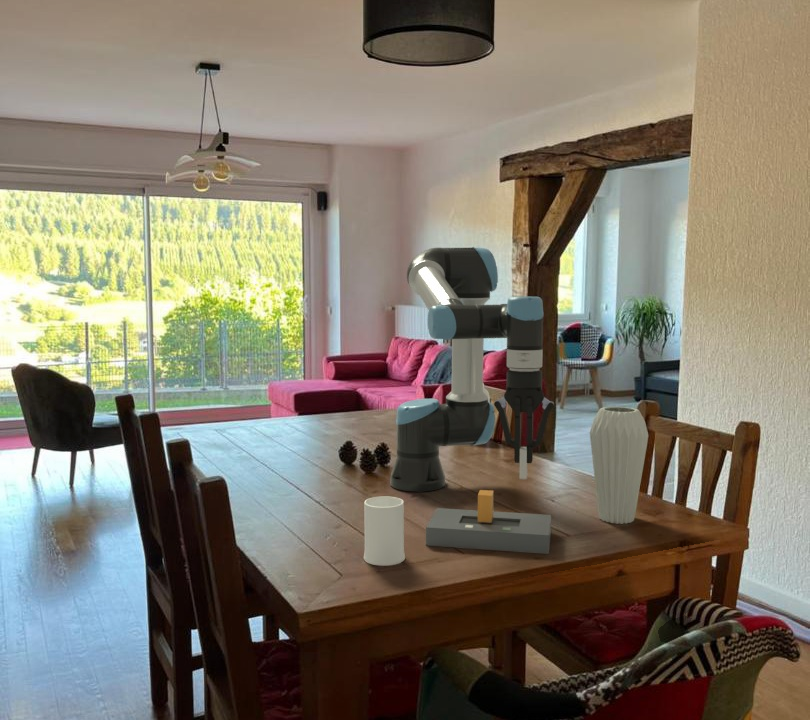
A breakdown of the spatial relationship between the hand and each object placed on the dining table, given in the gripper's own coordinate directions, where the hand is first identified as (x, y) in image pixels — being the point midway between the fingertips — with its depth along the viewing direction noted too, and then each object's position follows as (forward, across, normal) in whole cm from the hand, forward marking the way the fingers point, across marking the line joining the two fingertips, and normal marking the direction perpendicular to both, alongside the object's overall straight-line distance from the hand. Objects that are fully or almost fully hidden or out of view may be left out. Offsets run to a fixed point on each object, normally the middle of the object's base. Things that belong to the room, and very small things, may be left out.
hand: (523, 477), depth 171 cm
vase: (+14, +21, +20) cm, 33 cm away
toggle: (+10, -8, 0) cm, 13 cm away
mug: (+15, -28, -14) cm, 35 cm away
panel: (+14, -7, 0) cm, 16 cm away
